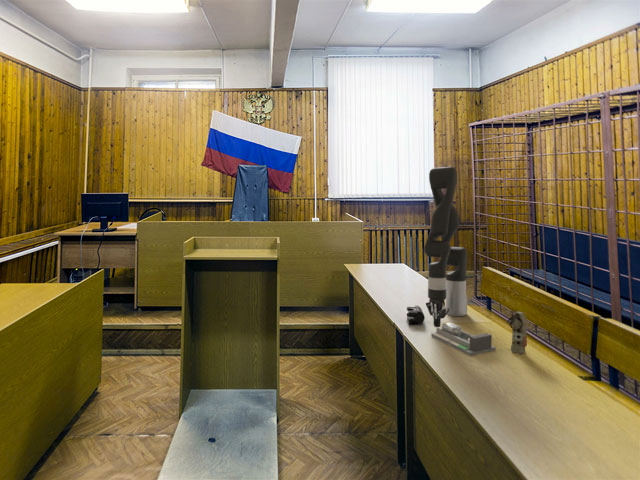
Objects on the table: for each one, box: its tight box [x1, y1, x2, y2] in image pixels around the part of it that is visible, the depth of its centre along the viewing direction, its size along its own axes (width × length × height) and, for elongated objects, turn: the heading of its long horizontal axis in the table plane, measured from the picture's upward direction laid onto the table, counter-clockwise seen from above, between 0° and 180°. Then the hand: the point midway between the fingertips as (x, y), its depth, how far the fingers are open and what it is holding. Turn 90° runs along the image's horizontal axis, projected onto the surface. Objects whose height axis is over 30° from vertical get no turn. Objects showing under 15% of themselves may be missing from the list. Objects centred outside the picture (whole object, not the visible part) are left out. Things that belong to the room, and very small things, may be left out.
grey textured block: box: [441, 322, 462, 338], centre depth 151 cm, size 4×8×4 cm, turn 21°
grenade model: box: [506, 310, 528, 355], centre depth 134 cm, size 6×7×15 cm
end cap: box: [406, 305, 426, 326], centre depth 172 cm, size 10×7×7 cm
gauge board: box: [430, 327, 497, 357], centre depth 146 cm, size 12×22×6 cm, turn 21°
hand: (436, 326), depth 160 cm, fingers closed
